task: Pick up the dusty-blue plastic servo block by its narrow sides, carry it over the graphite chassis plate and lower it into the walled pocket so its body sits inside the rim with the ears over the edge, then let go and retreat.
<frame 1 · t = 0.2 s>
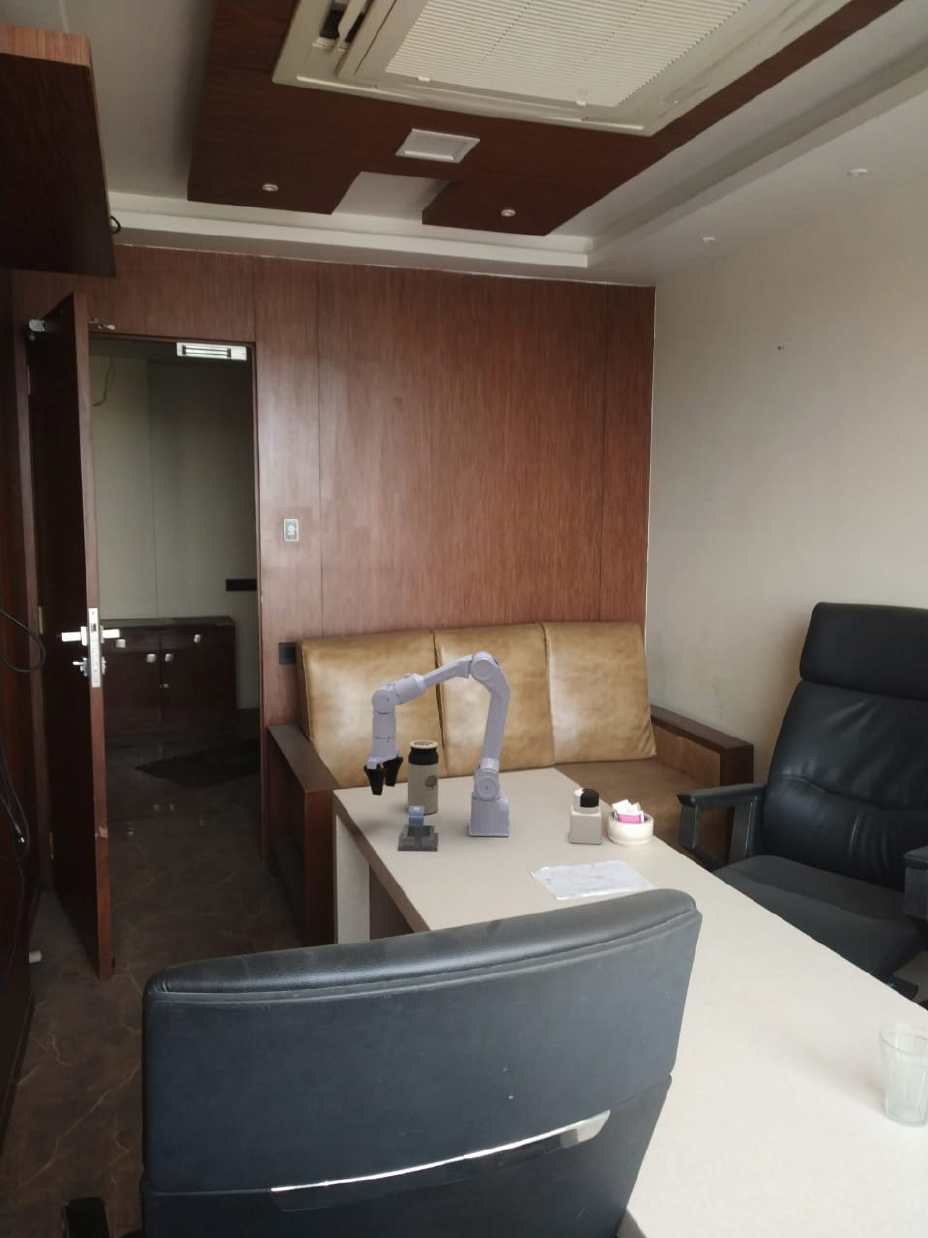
hand: (383, 790, 215), 10 cm above the table, tool pointing down, fingers open, 7 cm apart
travel mug: (422, 811, 230), on the table
chassis: (418, 843, 206), on the table
servo: (416, 828, 216), on the table
grey rotary knob pedestal: (584, 839, 212), on the table
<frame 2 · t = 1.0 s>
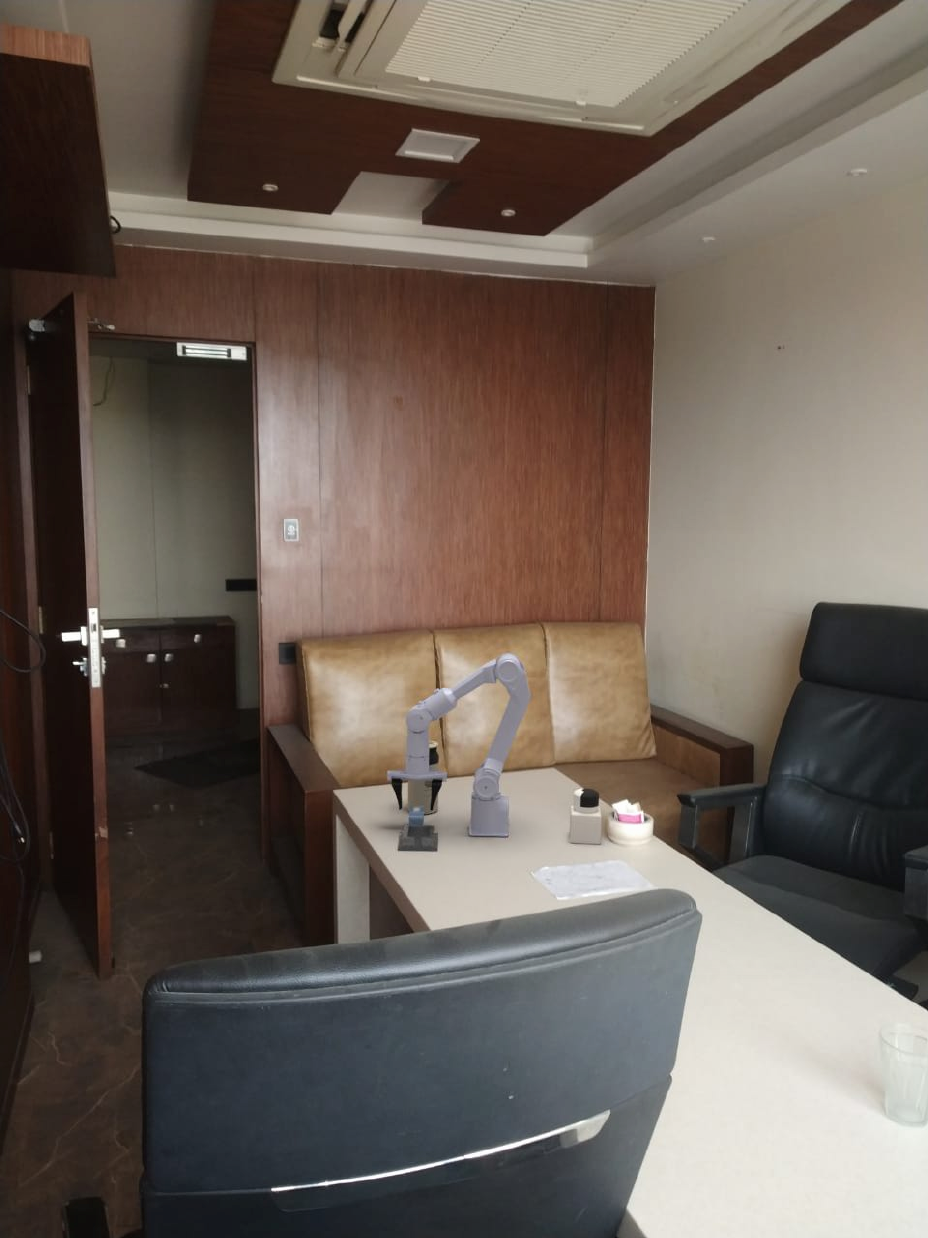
hand: (416, 809, 216), 5 cm above the table, tool pointing down, fingers open, 7 cm apart
nothing on the table moved.
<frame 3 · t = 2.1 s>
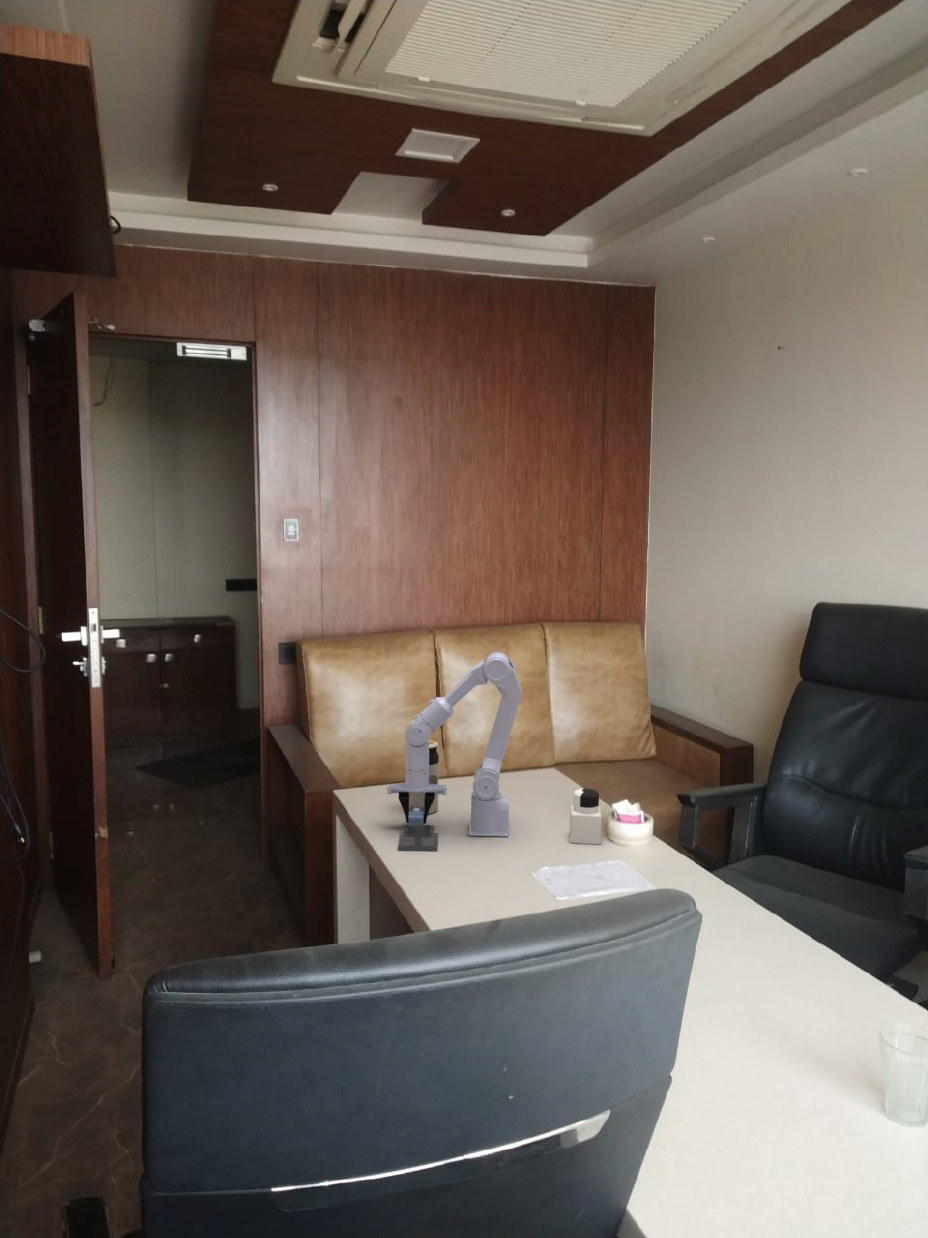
hand: (416, 822, 216), 2 cm above the table, tool pointing down, fingers closed on servo, 4 cm apart
servo: (416, 828, 216), on the table, touching gripper
everything else where it was.
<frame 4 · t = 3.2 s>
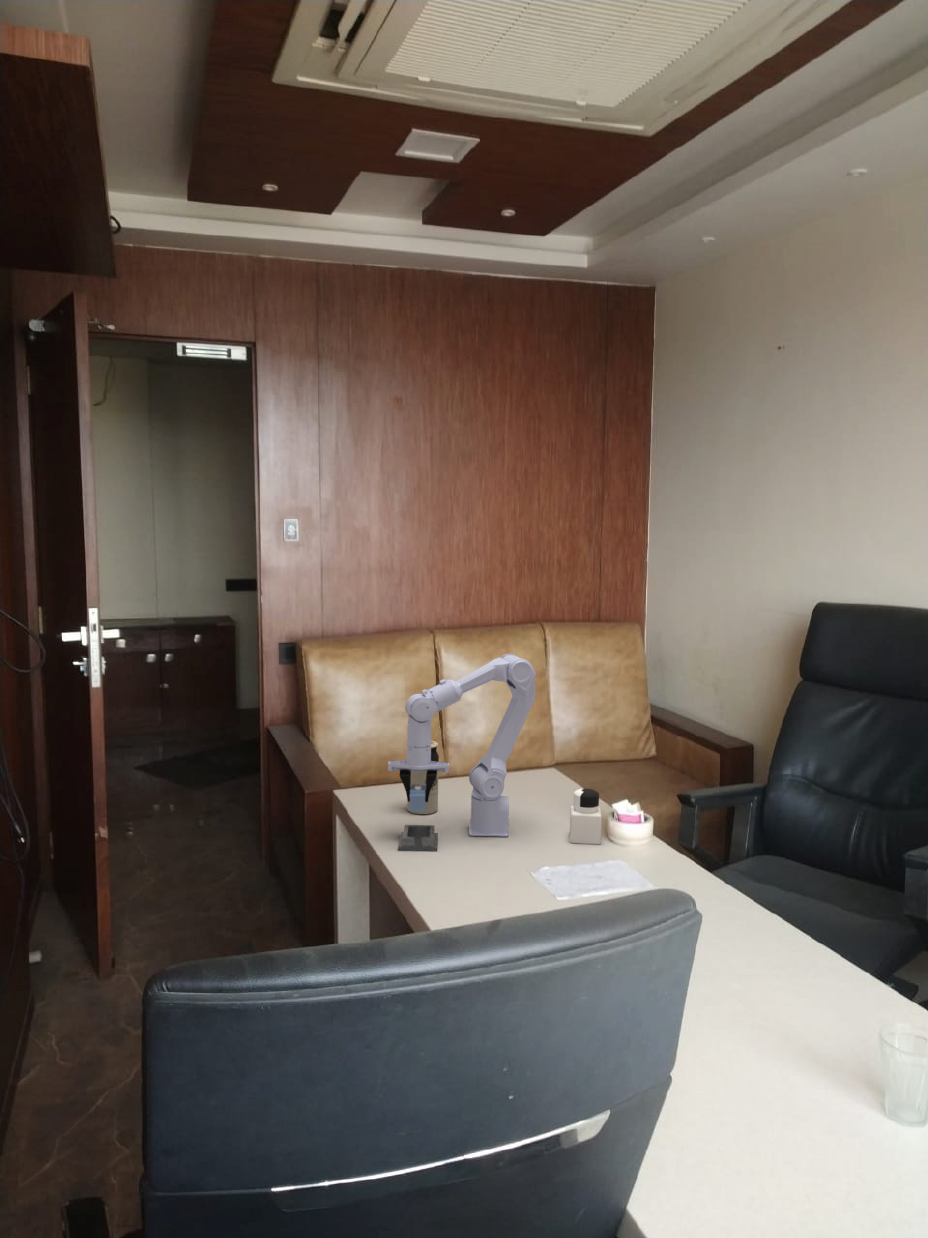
hand: (418, 800, 210), 9 cm above the table, tool pointing down, fingers closed on servo, 4 cm apart
servo: (417, 807, 210), point 7 cm above the table, touching gripper
everything else where it was.
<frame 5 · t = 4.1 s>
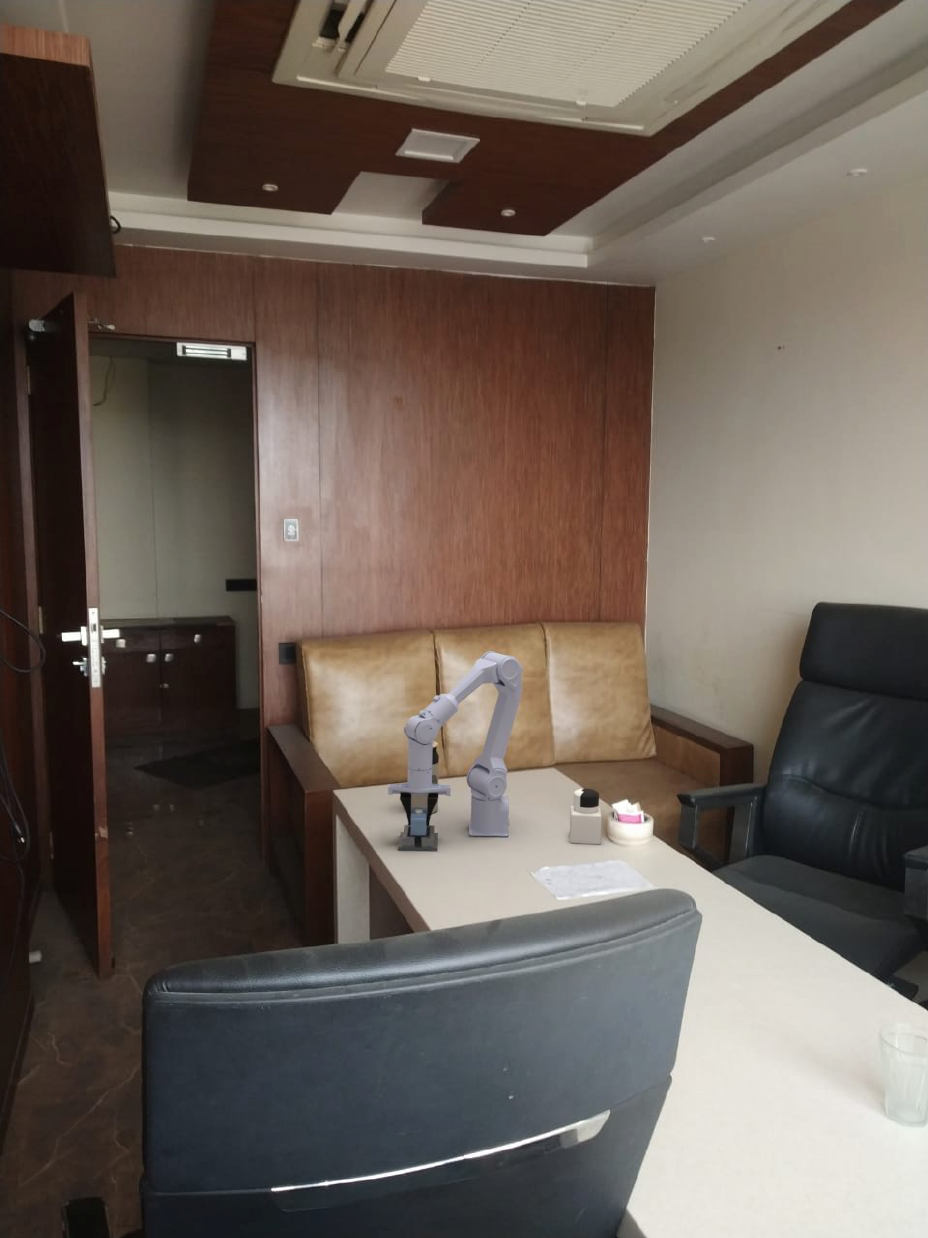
hand: (418, 824, 206), 5 cm above the table, tool pointing down, fingers closed on servo, 4 cm apart
servo: (418, 831, 206), point 3 cm above the table, touching gripper
everything else where it was.
when the fingers open (3 cm above the table, at t = 4.7 s): servo stays where it is, resting on chassis.
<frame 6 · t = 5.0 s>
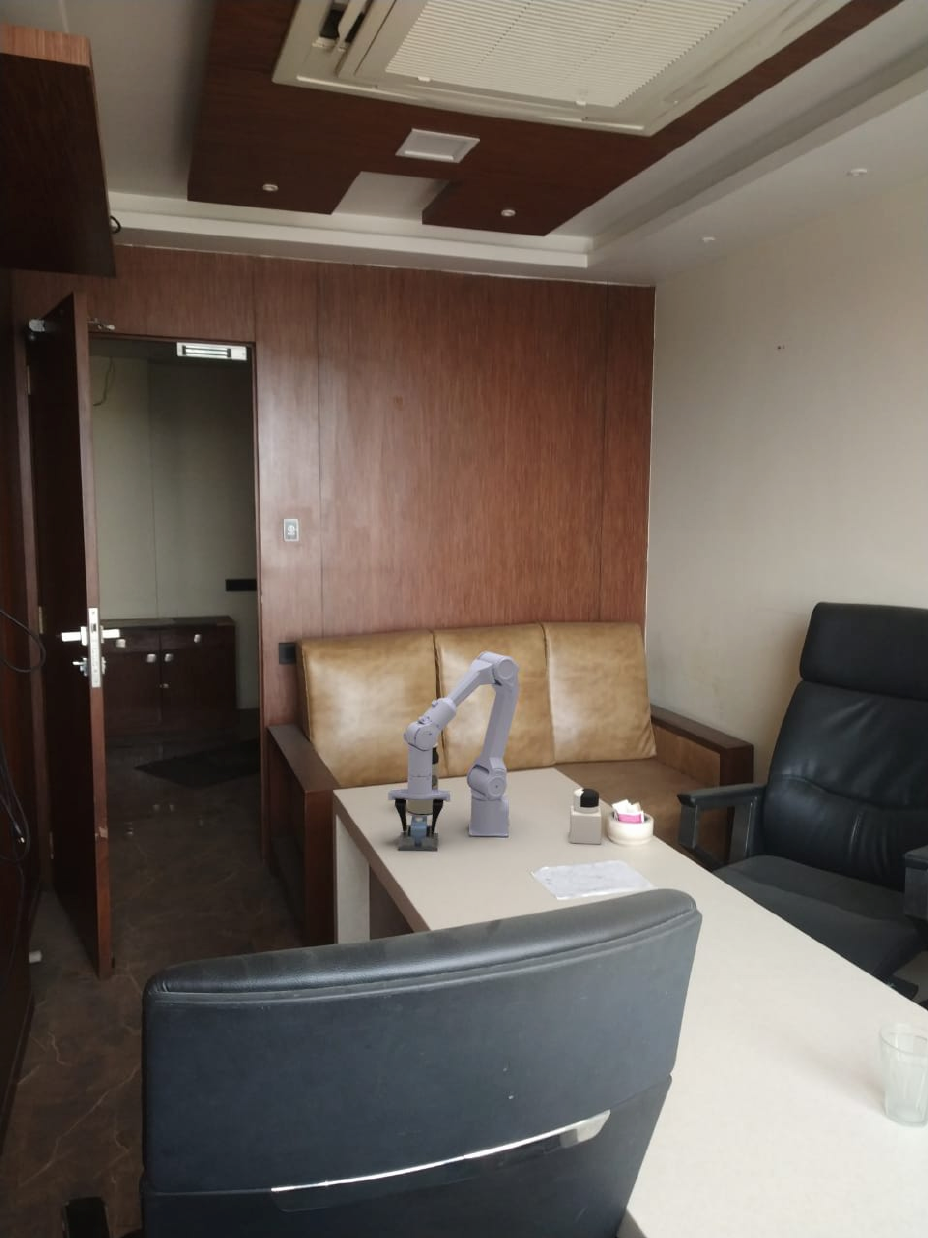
hand: (418, 830, 206), 3 cm above the table, tool pointing down, fingers open, 6 cm apart
servo: (418, 839, 207), point 1 cm above the table, touching chassis
everything else where it was.
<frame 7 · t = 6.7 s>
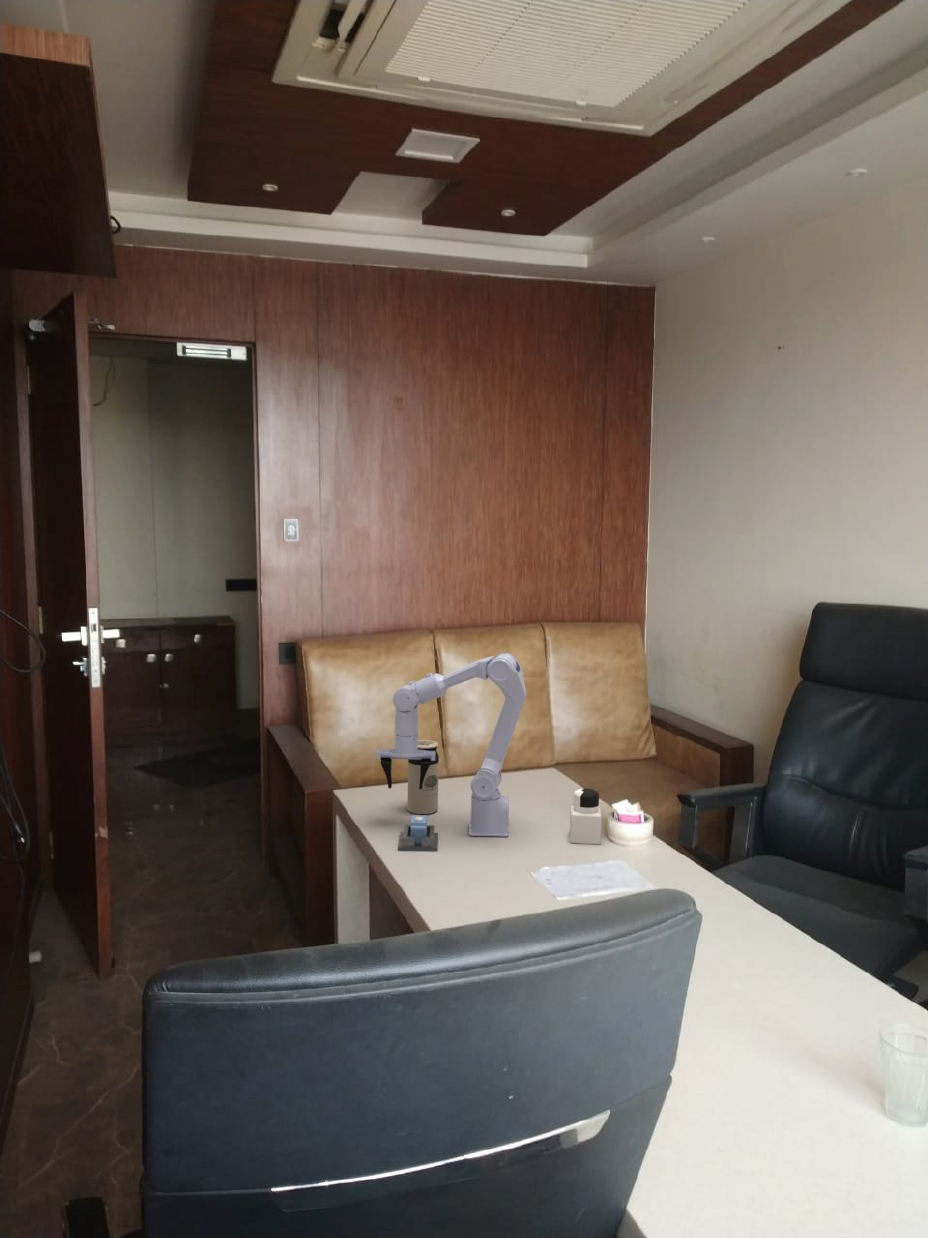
hand: (405, 787, 218), 9 cm above the table, tool pointing down, fingers open, 7 cm apart
nothing on the table moved.
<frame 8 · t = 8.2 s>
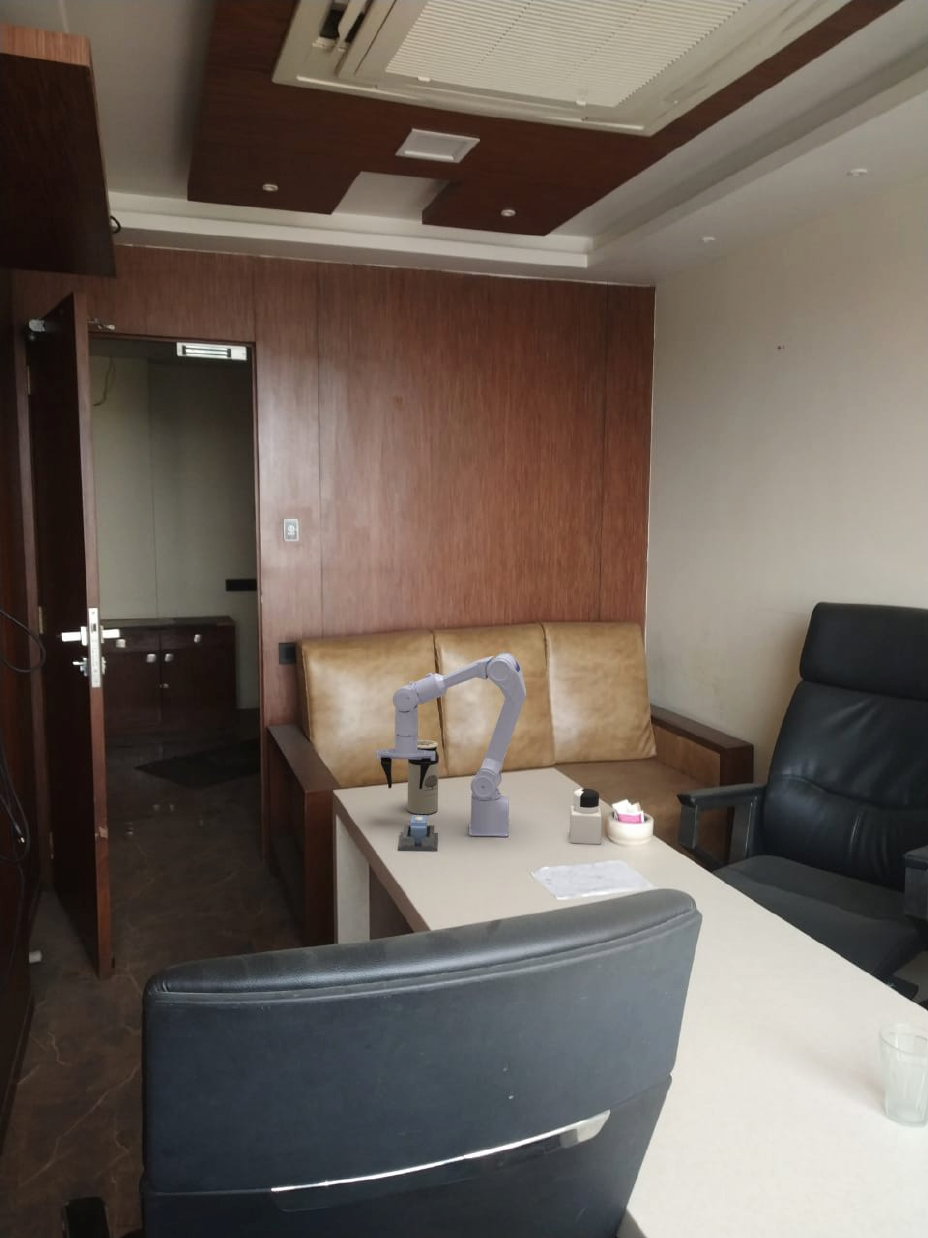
hand: (405, 787, 218), 9 cm above the table, tool pointing down, fingers open, 7 cm apart
nothing on the table moved.
at the end: servo 0.3 cm off-centre on the chassis, point 0.8 cm above the chassis's base; servo tilted 0°; the gripper is holding nothing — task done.
